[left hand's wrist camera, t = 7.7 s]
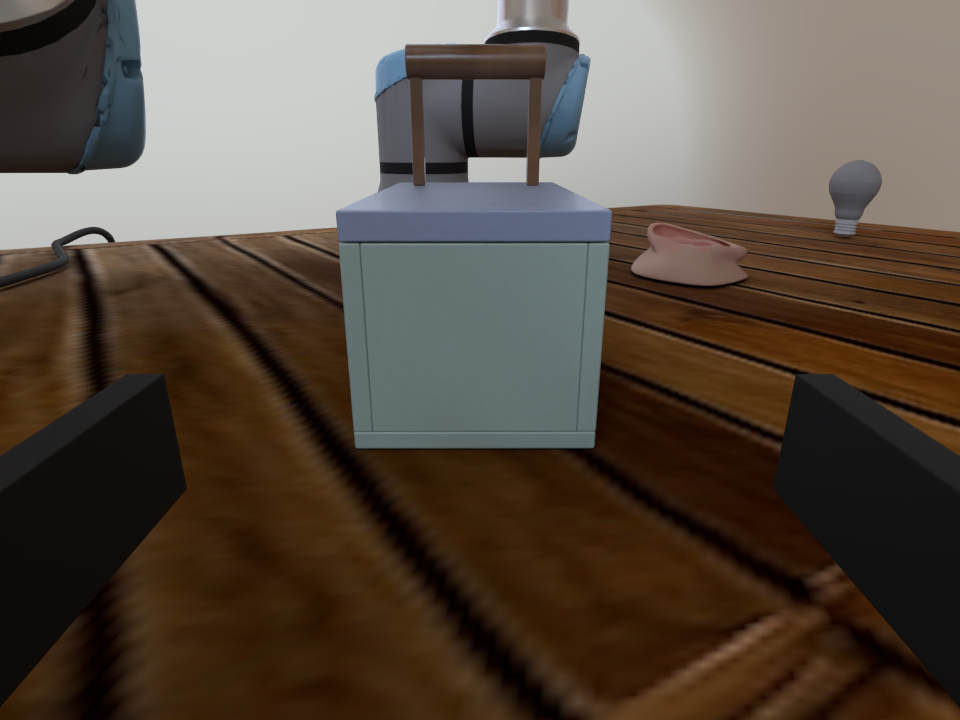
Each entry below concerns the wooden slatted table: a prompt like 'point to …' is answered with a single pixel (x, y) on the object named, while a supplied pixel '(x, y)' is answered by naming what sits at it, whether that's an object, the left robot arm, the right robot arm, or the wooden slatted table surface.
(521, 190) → the lid
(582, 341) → the chest
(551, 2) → the right robot arm
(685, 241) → the anatomical model
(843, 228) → the light bulb
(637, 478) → the wooden slatted table surface
